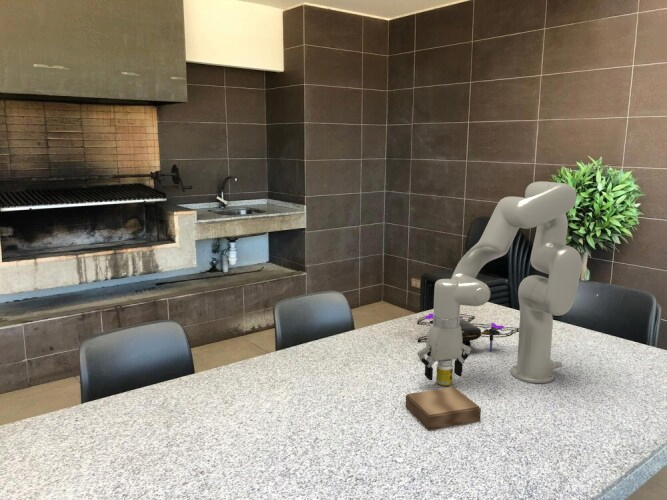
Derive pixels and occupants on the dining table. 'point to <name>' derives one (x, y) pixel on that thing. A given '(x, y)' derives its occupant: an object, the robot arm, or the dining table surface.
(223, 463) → the dining table surface
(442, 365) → the supplement bottle
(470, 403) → the walnut stand
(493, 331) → the drone
